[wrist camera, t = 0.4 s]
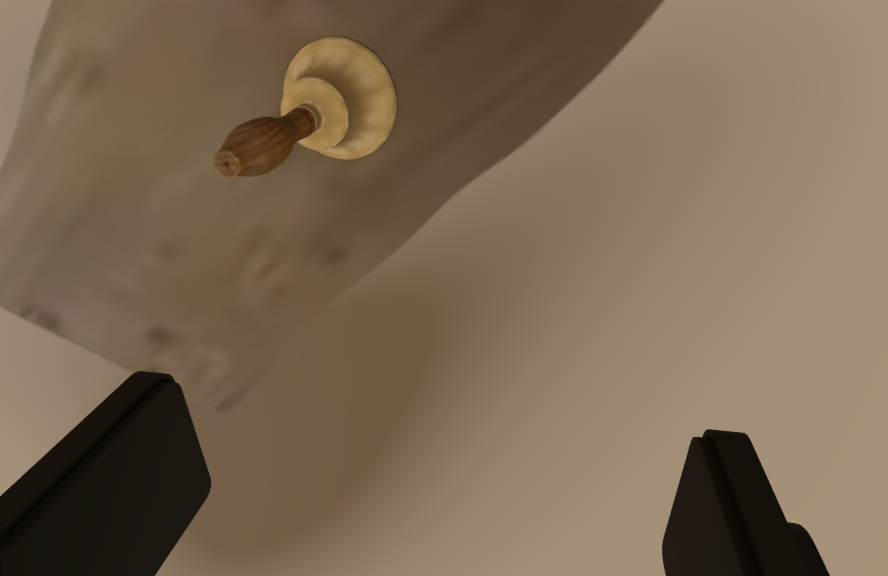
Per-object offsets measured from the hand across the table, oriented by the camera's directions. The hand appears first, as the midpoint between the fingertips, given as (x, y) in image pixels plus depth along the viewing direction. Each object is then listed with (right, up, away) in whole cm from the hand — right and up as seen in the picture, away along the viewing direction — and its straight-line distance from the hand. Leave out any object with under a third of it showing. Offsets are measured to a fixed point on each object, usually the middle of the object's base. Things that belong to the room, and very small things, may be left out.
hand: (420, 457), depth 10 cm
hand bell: (-7, +17, +28) cm, 34 cm away
